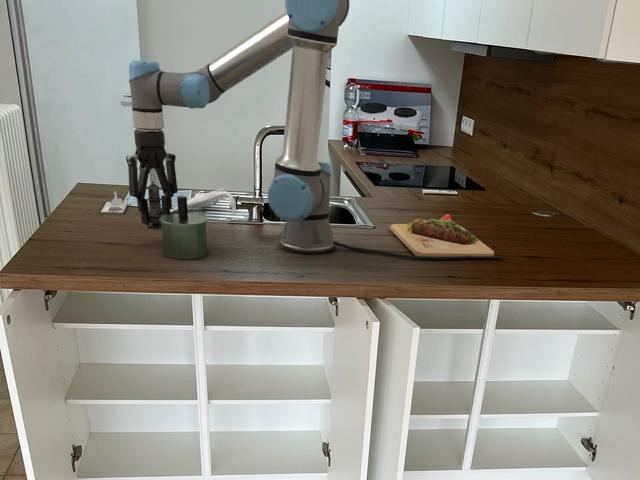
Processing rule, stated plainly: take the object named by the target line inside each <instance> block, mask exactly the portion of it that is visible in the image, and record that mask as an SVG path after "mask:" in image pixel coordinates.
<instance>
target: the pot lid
mask: <svg viewBox="0 0 640 480" xmlns="http://www.w3.org/2000/svg"><path fill="white" fill-rule="evenodd" d="M176 199H177V207H178V211H177V213H172V214H171V213H170V215H165V216H162V217H160V218H159V221H160V222H161V224H162V223H163V224H167V225H172V226H197V225H202V224H205V223H206V224H207V223H208V218H207V217H205V216H203V215H200V214H193V213H189V212H188V208H187V202H188V197H187V196H186V195H178V196H176Z"/></svg>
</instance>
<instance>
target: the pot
mask: <svg viewBox="0 0 640 480" xmlns="http://www.w3.org/2000/svg"><path fill="white" fill-rule="evenodd" d="M161 224H162V229H161V234H162V243H163V245H162V247H163V255H164V256H165V257H167V258H170V259H175V260H196V259H197V260H198V259H202V258H205V257H206V256H207V255H208V246H207V243H208V242H207V225H206V224H207V222H206V223H205V224H202V225H197V226H172V225H167V224H163V223H161Z"/></svg>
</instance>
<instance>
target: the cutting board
mask: <svg viewBox="0 0 640 480" xmlns="http://www.w3.org/2000/svg"><path fill="white" fill-rule="evenodd" d="M389 228H390V231H391V232H392V233H393V234H394V235H395V236H396V237H397V238H398V239H399V240H400V241H401V242H402V243H403V244H404V245H405V246H406V247H407V248H408V250H409V251H410V252H411V253H412V254H413V255H414V256H429V257H447V256H495V251H494V250H493V249H492V248H490V247H489V246H487V245H486V244H485V243H483V242H482V241H481V240H480V239H479V238H478V237H477V236H475V235H473V234H472V233H471V232H470V231H469V230H468V229H465V228H464V227H463V226H461V225H459V224H457V223H456V222H455V221H453V220H452V216H451V215H450V214H449V213H446V214H445V215H443V216H442V217H441V218H440V219H437V218H435V219H434V218H430V219H427V220H426V219H422V218H420V217H417V218H415V219H414V220H413V221H412V222H409V223H392V224H391V225H390V227H389Z"/></svg>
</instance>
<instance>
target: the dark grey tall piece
mask: <svg viewBox="0 0 640 480" xmlns="http://www.w3.org/2000/svg"><path fill="white" fill-rule="evenodd" d="M147 186H148V187H147V194H148V198H147V200H148V211H149V223H150V225H146V229H147V230H155V231H156V230H157V231H158V230H161V231H162V223H161V222H160V221H159V218H160V217H162V216H165V215H167V214H166V213H165V212H163V211H162V201H161V194H160V187H159V185H157V184H156V183H155V181H154V180H152V181H151V184H150V185H147Z"/></svg>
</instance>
